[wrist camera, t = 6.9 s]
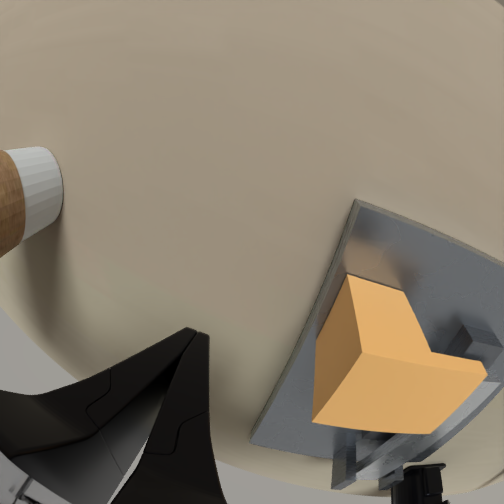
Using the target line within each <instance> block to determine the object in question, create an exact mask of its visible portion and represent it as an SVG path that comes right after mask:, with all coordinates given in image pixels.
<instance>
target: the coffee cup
mask: <svg viewBox="0 0 504 504" xmlns="http://www.w3.org/2000/svg"><path fill="white" fill-rule="evenodd" d="M62 201H63V183H62V177H61V173H60V169H59V166H58V164H57V161H56V159H55V158H54V156H53V155H52V153H51V152H50V151H49V150H47V149H46V148H44V147H29V148H20V149H12V150H5V151H3V150H0V258H1V257H2V256H3V255H5V254H6V253H7V252H9V251H10V250H12V249H13V248H14V247H16V246H17V245H19V243H21V242H22V241H24V240H25V239H27V238H28V237H30V236H32V235H33V234H35V233H36V232H38V231H40V230H41V229H43V228H45V227H46V226H48V225H50V224H51V223H53V222H54V221H55V220H56V218H57V217H58V215H59V213H60V210H61V206H62Z"/></svg>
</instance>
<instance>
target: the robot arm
mask: <svg viewBox="0 0 504 504" xmlns="http://www.w3.org/2000/svg"><path fill="white" fill-rule="evenodd" d="M209 342H210V336H209V335H208V334H205V333H202V332H197V331H196V330H194V329H191V328H189V327H186V328H184V329H182V330H180V331H178V332H176V333H175V334H173V335H171V336H169V337H167V338H165V339H163V340H162V341H160V342H158V343H156V344H154V345H152V346H150V347H149V348H147V349H145V350H143V351H141V352H139V353H137V354H135V355H133V356H131V357H129V358H128V359H126V360H124V361H122V362H120V363H118V364H116V365H114V366H112V367H111V368H108V369H106V370H104V371H102V372H100V373H98V374H96V375H94V376H91V377H89V378H87V379H84V380H82V381H79V382H76V383H74V384H71V385H68V386H65V387H62V388H59V389H56V390H53V391H50V392H47V393H43V394H38V395H24V394H18V393H13V392H8V391H3V390H0V504H107V502H108V501H109V499H110V498H111V496H112V495H113V493H114V492H115V490H116V488H117V487H118V485H119V484H120V482H121V480H122V479H123V477H124V475H125V474H126V472H127V471H128V469H129V467H130V466H131V464H132V463H133V461H134V459H135V458H136V456H137V455H138V453H139V451H140V450H141V448H142V447H143V445H144V443H145V442H146V440H147V438H148V437H149V438H148V441H147V443H146V446H145V448H144V451H143V454H142V456H141V459H140V461H139V463H138V465H137V467H136V469H135V470H134V471H133V473H132V474H131V476H130V477H129V479H128V480H127V481H126V483H125V484H124V486H123V487H122V488H121V490H120V491H119V492H118V494H117V495H116V497H115V498H114V499H113V501H112V502H111V504H227V502H226V500H225V497H224V495H223V492H222V488H221V485H220V481H219V477H218V472H217V468H216V464H215V459H214V454H213V449H212V443H211V436H210V418H209ZM445 467H446V464H436V465H424V466H412V467H409V468H407V469H406V470H404V471H403V475H404V480H403V481H402V482H400V483H398V484H397V485H395V486H393V487H391V504H450V503H449V501H448V500H445V501H444V502H442V494H441V493H443V487H442V479H441V472H440V470H442V469H443V468H445Z"/></svg>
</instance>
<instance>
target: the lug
mask: <svg viewBox="0 0 504 504" xmlns="http://www.w3.org/2000/svg"><path fill="white" fill-rule="evenodd" d="M487 375H488V374H487V372H486V370H485V368H484V366H483V364H482V363H481V361H476V360H470V359H465V358H459V357H454V356H449V355H444V354H439V353H434V352H431V350H430V348H429V345H428V343H427V341H426V338H425V336H424V334H423V332H422V329H421V327H420V325H419V323H418V321H417V318H416V316H415V314H414V312H413V310H412V308H411V306H410V304H409V302H408V300H407V298H406V296H405V294H404V292H402V291H399V290H396V289H393V288H390V287H386V286H383V285H380V284H377V283H374V282H371V281H367V280H364V279H361V278H358V277H355V276H351V275H348V274H347V276H346V278H345V280H344V283H343V285H342V287H341V289H340V291H339V294H338V296H337V298H336V300H335V302H334V305H333V307H332V309H331V311H330V313H329V315H328V317H327V319H326V321H325V323H324V325H323V327H322V330H321V332H320V334H319V335H318V337H317V339H316V351H315V376H314V394H313V409H312V422H314V423H319V424H325V425H331V426H337V427H343V428H351V429H358V430H367V431H377V432H390V433H407V434H430V433H432V432H433V431H434V430H435V429H436V428H437V427H438V426H439V425H441V424H442V423H443V422H444V421H445V420H446V419H447V418H448V417H449V416H450V415H451V414H452V413H453V412H454V411H455V410H456V409H457V408H458V407H459V406H460V405H461V404H462V403H463V402H464V401H465V400H466V399H467V398H468V397H469V396H470V395H471V394H472V392H473V391H474V390H475V389H476V388H477V387H478V386H479V385H480V383H481V382H482V381H483V380H484V379H485V377H486V376H487Z"/></svg>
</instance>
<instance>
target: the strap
mask: <svg viewBox="0 0 504 504" xmlns="http://www.w3.org/2000/svg"><path fill="white" fill-rule="evenodd" d="M485 370H486V372H487V374H488V375H487V376H486V377H485V379H484V380H483V381H482V382H481V383H480V385H479V386H478V387H477V388H476V389H475V390H474V391H473V392H472V394H471V395H470V396H469V397H468V398H467V399H466V400H465V401H464V402H463V403H462V404H461V405H460V406H459V407H458V408H457V409H456V410H455V411H454V412H453V413H452V414H451V415H450V416H449V417H448V418H447V419H446V420H445V421H444V422H443V423H442V424H441V425H439V426H438V427H437V428H436V429H435V430H434V431H433V432H432V433H430V434H407V433H397V434H396V435H394V436H393V437H392V438H391V439H389V440H388V441H387V442H385V443H384V444H383V445H381V446H380V447H379V448H377V449H376V450H375V451H373V452H372V453H370V454H369V455H368V456H366V457H365V458H363V459H362V460H360V461H359V462H357V463H356V479H358V480H377V479H379V478H381V477H382V476H384V475H386V474H388V473H390V472H391V471H393V470H395V469H396V468H398V467H400V466H401V465H403V464H404V463H406V462H408V461H409V460H411V459H412V458H414V457H415V456H417V455H418V454H420V453H421V452H423V451H424V450H425V449H427V448H428V447H430V446H431V445H432V444H434V443H435V442H436V441H438V440H439V439H440V438H442V437H443V436H444V435H446V434H447V433H448V432H449V431H451V430H452V429H453V428H454V427H455V426H457V425H458V424H459V423H460V422H461V421H462V420H464V419H465V418H466V417H467V416H468V415H469V414H470V413H471V412H472V411H474V410H475V409H476V408H477V407H478V406H479V405H480V404H481V403H482V402H483V401H484V400H485V399H486V398H487V397H488V396H489V395H490V394H491V393H492V392H493V391H494V390H495V389H496V388H497V387H498V386H499V384H500V383H501V382H500V379H499V377H498V375H497V373H496V371H495V370H488V369H485Z"/></svg>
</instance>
